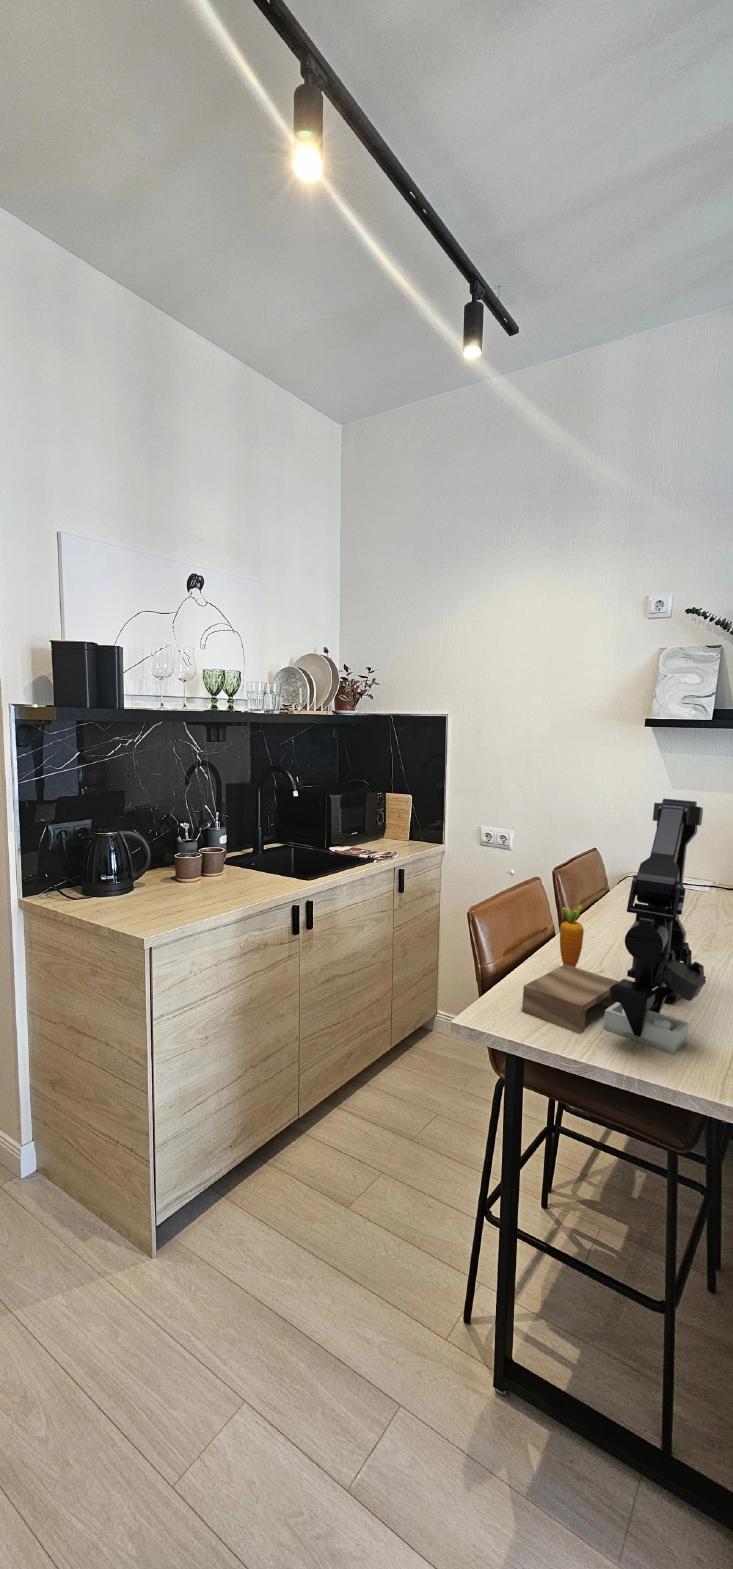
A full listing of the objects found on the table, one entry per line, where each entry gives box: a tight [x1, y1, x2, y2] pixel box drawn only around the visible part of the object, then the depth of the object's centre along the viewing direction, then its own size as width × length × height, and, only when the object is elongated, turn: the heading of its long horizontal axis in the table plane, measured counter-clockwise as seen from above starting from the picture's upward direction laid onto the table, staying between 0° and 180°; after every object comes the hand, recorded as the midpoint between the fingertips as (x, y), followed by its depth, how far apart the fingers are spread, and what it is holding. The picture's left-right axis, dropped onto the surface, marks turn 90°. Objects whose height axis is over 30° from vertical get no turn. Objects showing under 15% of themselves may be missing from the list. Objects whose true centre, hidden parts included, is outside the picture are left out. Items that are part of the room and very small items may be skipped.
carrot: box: [559, 905, 585, 968], centre depth 141 cm, size 5×5×15 cm
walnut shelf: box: [521, 964, 620, 1034], centre depth 125 cm, size 16×12×5 cm
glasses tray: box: [603, 1002, 689, 1055], centre depth 115 cm, size 6×12×4 cm, turn 46°
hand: (644, 1029), depth 115 cm, fingers closed on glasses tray, 6 cm apart
